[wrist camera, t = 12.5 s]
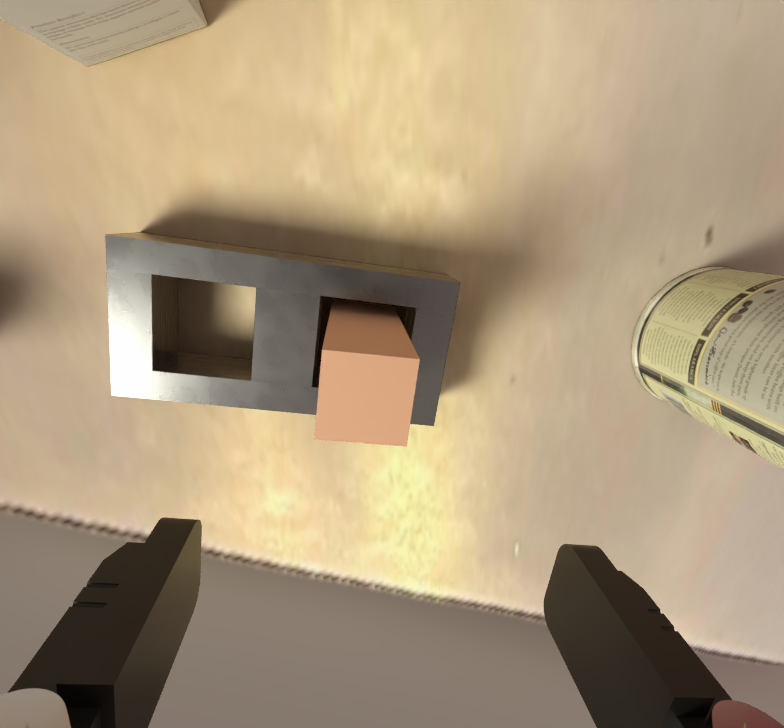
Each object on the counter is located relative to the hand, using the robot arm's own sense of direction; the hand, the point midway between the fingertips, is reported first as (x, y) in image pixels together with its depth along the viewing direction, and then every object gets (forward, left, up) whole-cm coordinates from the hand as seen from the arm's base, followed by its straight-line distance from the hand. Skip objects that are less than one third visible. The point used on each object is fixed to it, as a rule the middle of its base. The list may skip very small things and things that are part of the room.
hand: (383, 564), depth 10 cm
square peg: (0, 0, -22) cm, 22 cm away
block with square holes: (-4, 0, -22) cm, 22 cm away
